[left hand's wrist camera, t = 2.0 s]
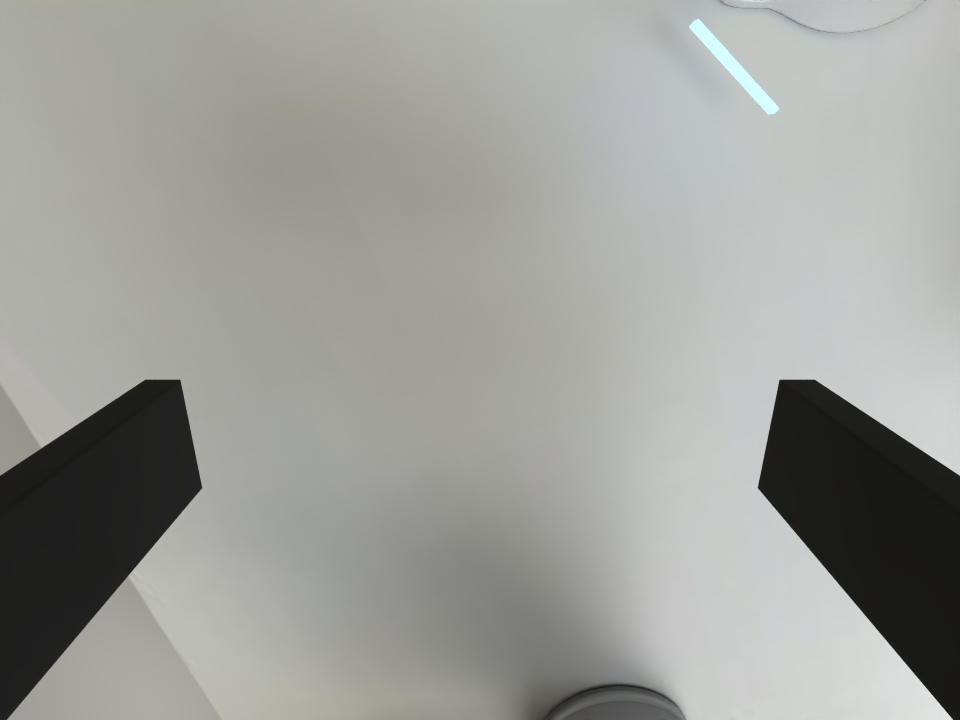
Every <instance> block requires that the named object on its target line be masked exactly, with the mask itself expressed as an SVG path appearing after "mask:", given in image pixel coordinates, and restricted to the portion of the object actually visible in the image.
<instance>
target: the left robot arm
mask: <svg viewBox="0 0 960 720" xmlns="http://www.w3.org/2000/svg"><path fill="white" fill-rule="evenodd" d="M201 489H202V485H201V480H200V475H199V470H198V465H197V460H196V455H195V450H194V445H193V440H192V435H191V430H190V425H189V420H188V415H187V410H186V405H185V400H184V395H183V390H182V386H181V381H180V380H144V381H143V382H141V383H140V384H138V385H137V386H135V387H134V388H132V389H131V390H129V391H128V392H126V393H125V394H123V395H122V396H120V397H119V398H117V399H116V400H114V401H113V402H111V403H110V404H108V405H106V406H105V407H103V408H102V409H100V410H99V411H97V412H96V413H94V414H93V415H91V416H90V417H88V418H87V419H85V420H84V421H82V422H81V423H79V424H78V425H76V426H75V427H73V428H72V429H70V430H69V431H67V432H66V433H64V434H63V435H61V436H60V437H58V438H57V439H55V440H54V441H52V442H51V443H49V444H48V445H46V446H45V447H43V448H42V449H40V450H39V451H37V452H35V453H34V454H33V455H31V456H29V457H28V458H26V459H25V460H23V461H22V462H20V463H19V464H17V465H16V466H14V467H13V468H11V469H10V470H8V471H7V472H5V473H4V474H2V475H1V476H0V720H7V719H8V718H9V716H10V715H11V714H12V713H13V712H14V711H15V709H16V708H17V707H18V706H19V705H20V703H21V702H22V701H23V700H24V699H25V697H26V696H27V695H28V694H29V693H30V691H31V690H32V689H33V688H34V687H35V686H36V684H37V683H38V682H39V681H40V680H41V679H42V677H43V676H44V675H45V674H46V673H47V671H48V670H49V669H50V668H51V667H52V665H53V664H54V663H55V662H56V661H57V660H58V658H59V657H60V656H61V655H62V654H63V652H64V651H65V650H66V649H67V648H68V647H69V645H70V644H71V643H72V642H73V640H74V639H75V638H76V637H77V636H78V635H79V633H80V632H81V631H82V630H83V629H84V628H85V626H86V625H87V624H88V623H89V622H90V620H91V619H92V618H93V617H94V616H95V614H96V613H97V612H98V611H99V610H100V609H101V607H102V606H103V605H104V604H105V603H106V601H107V600H108V599H109V598H110V597H111V595H112V594H113V593H114V592H115V591H116V590H117V588H118V587H119V586H120V585H121V584H122V582H123V581H124V580H125V579H126V578H127V577H128V575H129V574H130V573H131V572H132V571H133V569H134V568H135V567H136V566H137V565H138V563H139V562H140V561H141V560H142V559H143V558H144V556H145V555H146V554H147V553H148V552H149V550H150V549H151V548H152V547H153V546H154V544H155V543H156V542H157V541H158V540H159V539H160V537H161V536H162V535H163V534H164V533H165V531H166V530H167V529H168V528H169V527H170V525H171V524H172V523H173V522H174V521H175V520H176V518H177V517H178V516H179V515H180V514H181V512H182V511H183V510H184V509H185V508H186V507H187V505H188V504H189V503H190V502H191V501H192V499H193V498H194V497H195V496H196V495H197V493H198V492H199V491H200V490H201ZM758 489H759V490H760V491H761V492H762V493H763V495H764V496H765V497H766V498H767V499H768V501H769V502H770V503H771V504H772V505H773V507H774V508H775V509H776V510H777V511H778V512H779V514H780V515H781V516H782V517H783V518H784V520H785V521H786V522H787V523H788V524H789V525H790V527H791V528H792V529H793V530H794V531H795V533H796V534H797V535H798V536H799V537H800V539H801V540H802V541H803V542H804V543H805V544H806V546H807V547H808V548H809V549H810V550H811V552H812V553H813V554H814V555H815V556H816V558H817V559H818V560H819V561H820V562H821V563H822V565H823V566H824V567H825V568H826V569H827V571H828V572H829V573H830V574H831V575H832V577H833V578H834V579H835V580H836V581H837V582H838V584H839V585H840V586H841V587H842V588H843V590H844V591H845V592H846V593H847V594H848V595H849V597H850V598H851V599H852V600H853V601H854V603H855V604H856V605H857V606H858V607H859V609H860V610H861V611H862V612H863V613H864V614H865V616H866V617H867V618H868V619H869V620H870V622H871V623H872V624H873V625H874V626H875V628H876V629H877V630H878V631H879V632H880V633H881V635H882V636H883V637H884V638H885V639H886V641H887V642H888V643H889V644H890V645H891V647H892V648H893V649H894V650H895V651H896V652H897V654H898V655H899V656H900V657H901V658H902V660H903V661H904V662H905V663H906V664H907V665H908V667H909V668H910V669H911V670H912V671H913V673H914V674H915V675H916V676H917V677H918V679H919V680H920V681H921V682H922V683H923V684H924V686H925V687H926V688H927V689H928V690H929V692H930V693H931V694H932V695H933V696H934V698H935V699H936V700H937V701H938V702H939V703H940V705H941V706H942V707H943V708H944V709H945V711H946V712H947V713H948V714H949V715H950V716H951V718H952V719H953V720H960V476H959V475H958V474H956V473H955V472H953V471H952V470H950V469H949V468H947V467H946V466H944V465H943V464H941V463H940V462H938V461H937V460H935V459H934V458H932V457H931V456H929V455H928V454H926V453H925V452H923V451H922V450H920V449H918V448H917V447H915V446H914V445H912V444H911V443H909V442H908V441H906V440H905V439H903V438H902V437H900V436H899V435H897V434H896V433H894V432H893V431H891V430H890V429H888V428H887V427H885V426H884V425H882V424H881V423H879V422H878V421H876V420H875V419H873V418H872V417H870V416H869V415H867V414H866V413H864V412H863V411H861V410H860V409H858V408H857V407H855V406H854V405H852V404H850V403H849V402H847V401H846V400H844V399H843V398H841V397H840V396H838V395H837V394H835V393H834V392H832V391H831V390H829V389H828V388H826V387H825V386H823V385H822V384H820V383H819V382H817V381H816V380H780V381H779V386H778V390H777V395H776V400H775V405H774V410H773V415H772V420H771V425H770V430H769V435H768V440H767V445H766V450H765V455H764V460H763V465H762V470H761V475H760V480H759V485H758ZM545 720H686V719H685V717H684V715H683V714H682V712H681V711H680V710H679V708H678V707H677V706H676V705H674V704H673V703H672V702H671V701H669V700H668V699H666V698H665V697H663V696H661V695H659V694H657V693H654V692H651V691H648V690H645V689H641V688H635V687H625V686H614V687H603V688H598V689H593V690H590V691H586V692H583V693H581V694H578V695H576V696H574V697H572V698H570V699H568V700H566V701H565V702H563V703H562V704H560V705H559V706H558V707H556V708H555V709H554V710H553V711H552V712H551V713H550V714H549V715H548V716H547V718H546V719H545Z"/></svg>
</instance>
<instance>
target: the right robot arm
mask: <svg viewBox="0 0 960 720" xmlns="http://www.w3.org/2000/svg"><path fill="white" fill-rule="evenodd" d="M721 1H722V2H723V3H724V4H726V5H729V6H732V7H739V8H769V9H772V10H775V11H777V12H779V13H781V14H783V15H785V16H787V17H788V18H790V19H792V20H794V21H796V22H797V23H800V24H802V25H804V26H806V27H809V28H812V29H816V30H820V31H825V32H833V33H850V32H858V31H864V30H868V29H872V28H875V27H878V26H881V25H884V24H886V23H889V22H891V21H893V20H895V19H897V18H899V17H901V16H903V15H905V14H906V13H908V12H910V11H911V10H913V9H914V8H916V7H917V6H919V5H920V4H921V3H923V2H924V1H925V0H721ZM689 27H690V29H691V30H692V31H693V32H694V33H695V34H696V35H697V36H698V37H699V38H700V40H701V41H702V42H703V43H704V44H705V45H706V46H707V47H708V48H709V49H710V51H711V52H712V53H713V54H714V55H715V56H716V57H717V58H718V59H719V60H720V62H721V63H722V64H723V65H724V66H725V67H726V68H727V69H728V70H729V71H730V73H731V74H732V75H733V76H734V77H735V78H736V79H737V80H738V81H739V82H740V84H741V85H742V86H743V87H744V88H745V89H746V90H747V91H748V92H749V93H750V95H751V96H752V97H753V98H754V99H755V100H756V101H757V102H758V103H759V104H760V106H761V107H762V108H763V109H764V110H765V111H766V112H767V113H768V114H772V113H775V112H776V111H777V110H778V109H779V108H778V107H777V106H776V104H775V103H774V102H773V101H772V100H771V99H770V98H769V97H768V96H767V94H766V93H765V92H764V91H763V90H762V89H761V88H760V87H759V86H758V84H757V83H756V82H755V81H754V80H753V79H752V78H751V77H750V76H749V74H748V73H747V72H746V71H745V70H744V69H743V68H742V67H741V66H740V64H739V63H738V62H737V61H736V60H735V59H734V58H733V57H732V56H731V54H730V53H729V52H728V51H727V50H726V49H725V48H724V47H723V46H722V44H721V43H720V42H719V41H718V40H717V39H716V38H715V37H714V36H713V34H712V33H711V32H710V31H709V30H708V29H707V28H706V27H705V26H704V24H703V23H702V22H701V21H700V20H699V19H697V20H696V21H694V22H693V23H692V24H691V25H690V26H689Z"/></svg>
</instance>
